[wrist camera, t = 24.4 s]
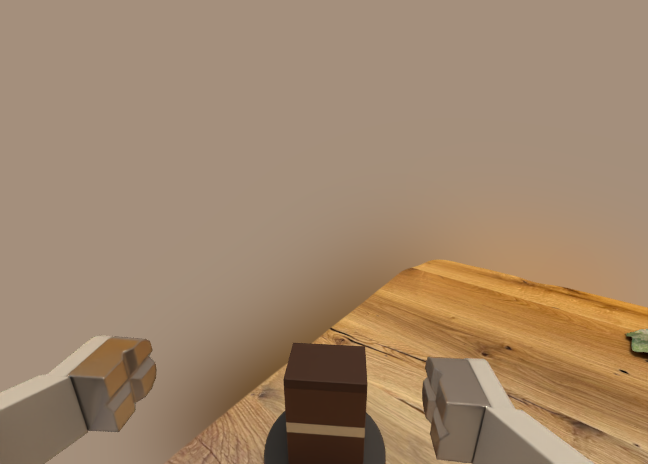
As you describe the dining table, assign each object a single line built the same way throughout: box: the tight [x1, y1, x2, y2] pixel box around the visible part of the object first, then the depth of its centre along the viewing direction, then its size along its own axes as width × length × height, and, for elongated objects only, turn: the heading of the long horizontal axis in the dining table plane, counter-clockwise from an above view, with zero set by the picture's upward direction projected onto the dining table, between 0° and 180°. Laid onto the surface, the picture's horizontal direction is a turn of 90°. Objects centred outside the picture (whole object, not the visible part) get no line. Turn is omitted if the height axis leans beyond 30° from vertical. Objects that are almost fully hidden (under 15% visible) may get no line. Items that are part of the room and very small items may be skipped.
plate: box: [264, 411, 386, 464], centre depth 27 cm, size 10×10×1 cm
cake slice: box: [284, 343, 367, 464], centre depth 25 cm, size 4×6×9 cm, turn 85°
